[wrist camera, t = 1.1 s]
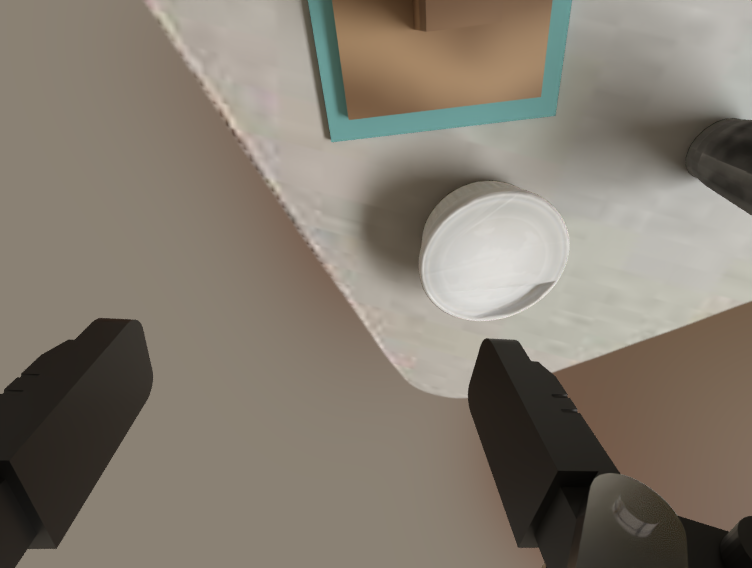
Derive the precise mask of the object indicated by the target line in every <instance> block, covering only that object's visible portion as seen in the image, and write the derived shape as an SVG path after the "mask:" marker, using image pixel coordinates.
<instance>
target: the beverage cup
mask: <svg viewBox="0 0 752 568" xmlns="http://www.w3.org/2000/svg"><path fill="white" fill-rule="evenodd" d="M686 167H687V170H688V172H689V173H690V174H691V175H692V176H694V177H696V178H698V179H699V180H700V181H701V182H702V183H703V184H704V185H706V186H707V187H709V188H710V189H712V190H713V191H715V192H716V193H718V194H719V195H721V196H722V197H724V198H726V199H727V200H729V201H730V202H732V203H733V204H735V205H736V206H738V207H739V208H741V209H743V210H744V211H746V212H747V213H749V214H750V215H752V120H740V119H736V118H732V119H724V120H722V121H719V122H716V123H714V124H713V125H711V126H709V127H708V128H706V129H705V130H704V131H703V132H702V133H701V134H700V135H699V136H698V137H697V138H696V139H695V140H694V142H693V143H692V145H691V146H690V148H689V151H688V153H687V156H686Z"/></svg>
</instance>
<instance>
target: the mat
mask: <svg viewBox="0 0 752 568" xmlns="http://www.w3.org/2000/svg"><path fill="white" fill-rule="evenodd" d="M571 3H572V0H553V1H552V10H551V18H550V26H549V35H548V43H547V51H546V59H545V68H544V76H543V84H542V93H541V97H537V98H529V99H520V100H512V101H504V102H496V103H487V104H479V105H471V106H462V107H454V108H446V109H437V110H429V111H421V112H413V113H404V114H396V115H388V116H379V117H371V118H363V119H354V120H349V119H348V112H347V104H346V97H345V90H344V83H343V76H342V68H341V61H340V54H339V47H338V40H337V32H336V25H335V18H334V11H333V4H332V0H308V4H309V10H310V16H311V22H312V28H313V34H314V40H315V46H316V52H317V58H318V64H319V70H320V76H321V82H322V88H323V94H324V100H325V106H326V112H327V118H328V124H329V130H330V136H331V142H338V141H346V140H355V139H363V138H372V137H380V136H389V135H397V134H405V133H414V132H422V131H431V130H439V129H448V128H456V127H465V126H473V125H482V124H490V123H498V122H507V121H515V120H524V119H532V118H541V117H549V116H555V115H556V108H557V101H558V94H559V87H560V80H561V73H562V66H563V59H564V52H565V45H566V38H567V31H568V24H569V17H570V10H571Z"/></svg>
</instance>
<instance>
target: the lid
mask: <svg viewBox="0 0 752 568" xmlns="http://www.w3.org/2000/svg"><path fill="white" fill-rule="evenodd" d="M552 1H553V0H332V4H333V11H334V18H335V25H336V32H337V40H338V47H339V54H340V61H341V68H342V76H343V83H344V90H345V97H346V104H347V112H348V119H349V120H354V119H363V118H371V117H379V116H388V115H396V114H404V113H413V112H421V111H429V110H437V109H446V108H454V107H462V106H471V105H479V104H487V103H496V102H504V101H512V100H520V99H529V98H537V97H541V93H542V84H543V76H544V68H545V59H546V51H547V43H548V35H549V26H550V18H551V10H552Z"/></svg>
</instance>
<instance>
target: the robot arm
mask: <svg viewBox="0 0 752 568" xmlns="http://www.w3.org/2000/svg"><path fill="white" fill-rule="evenodd" d="M152 382H153V372H152V367H151V362H150V358H149V354H148V349H147V345H146V340H145V336H144V331H143V327H142V325H141V323H140V322H139V321H138V320H130V319H110V318H98V319H96V320H94V321H93V322H92V323H91V324H90V325H89V326H88V327H87V328H86V329H85V330H84V331H83V332H82V333H81V334H80V335H79V336H78V337H77V338H76V339H75V340H67V341H65V342H63V343H62V344H60V345H58V346H56V347H55V348H53V349H51V350H49V351H47V352H46V353H44V354H42V355H41V356H40V357H39V358H37V359H36V361H34V362H33V363H32V364H31V365H30V366H29V367H28V368H27V369H26V370H25V371H24V372H23V373H22V374H21V377H20V378H19V377H18V378H16V379H15V380H14V381H13V382H12V383H11V384H10V385H9V386H7V387H6V388H5V389H4V393H3V394H0V568H15V567H16V565H17V564H18V562H19V561H20V559H21V558H22V556H23V555H24V553H25V552H26V550H27V549H57V547H58V545H59V544H60V542H61V541H62V539H63V537H64V536H65V534H66V532H67V531H68V529H69V527H70V526H71V524H72V522H73V521H74V519H75V518H76V516H77V514H78V512H79V511H80V509H81V508H82V506H83V504H84V503H85V501H86V499H87V498H88V496H89V495H90V493H91V491H92V490H93V488H94V486H95V485H96V483H97V481H98V480H99V478H100V476H101V475H102V473H103V472H104V470H105V468H106V467H107V465H108V463H109V462H110V460H111V458H112V457H113V455H114V453H115V452H116V450H117V449H118V447H119V445H120V443H121V442H122V440H123V439H124V437H125V435H126V434H127V432H128V430H129V429H130V427H131V425H132V424H133V422H134V420H135V419H136V417H137V416H138V414H139V412H140V411H141V409H142V407H143V406H144V404H145V402H146V401H147V399H148V397H149V395H150V391H151V388H152ZM567 395H568V394H567V393H566V391H565V390H564V389H563V387H562V385H561V384H560V382H559V381H558V380H557V378H556V377H555V376H554V375H553V374H552V373H551V372H549V371H548V370H547V369H546V368H545V367H544V366H542V365H541V364H540V363H539V362H534V361H531V360H530V359H529V357H528V356H527V354H526V352H525V351H524V349H523V347H522V346H521V344H520V343H519V342H518V341H517V340H507V339H487V338H486V339H484V340H483V342H482V344H481V346H480V350H479V353H478V356H477V360H476V363H475V367H474V370H473V373H472V377H471V380H470V384H469V389H468V402H469V408H470V412H471V415H472V417H473V420H474V423H475V426H476V429H477V432H478V435H479V437H480V440H481V443H482V446H483V449H484V452H485V454H486V457H487V460H488V463H489V466H490V469H491V471H492V474H493V477H494V480H495V483H496V486H497V489H498V492H499V494H500V497H501V500H502V503H503V506H504V509H505V511H506V514H507V517H508V520H509V523H510V526H511V529H512V531H513V534H514V537H515V540H516V543H517V546H518V547H519V548H535V547H536V548H537V547H539V549H540V551H541V554H542V557H543V559H544V564H543V565H542V568H752V516H748V517H745V518H743V519H742V520H740V521H739V522H738V523H737V524H736V525H735V527H734V528H733V529H732V530H731V531H730V532H728V531H725V530H722V529H718V528H715V527H712V526H709V525H706V524H703V523H699V522H696V521H693V520H690V519H687V518H683V517H680V516H677V514H676V513H675V512H674V510H673V509H672V508H671V507H670V505H669V504H668V503H667V502H666V501H665V500H664V499H663V498H662V497H661V496H660V495H658V494H657V493H656V492H655V491H653V490H652V489H651V488H649V487H648V486H646V485H645V484H643V483H641V482H639V481H637V480H635V479H633V478H631V477H628V476H625V475H621V474H620V472H619V471H618V470H617V468H616V467H615V465H614V464H613V462H612V461H611V459H610V458H609V456H608V455H607V453H606V451H605V450H604V448H603V447H602V446H601V444H600V443H599V441H598V439H597V438H596V436H595V435H594V433H593V432H592V431H591V429H590V427H589V426H588V424H587V423H586V421H585V420H584V419H583V417H582V415H581V414H580V413H577V408H576V406H575V405H574V403H573V402H572V401H571V399H570V398H568V397H567Z"/></svg>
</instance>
